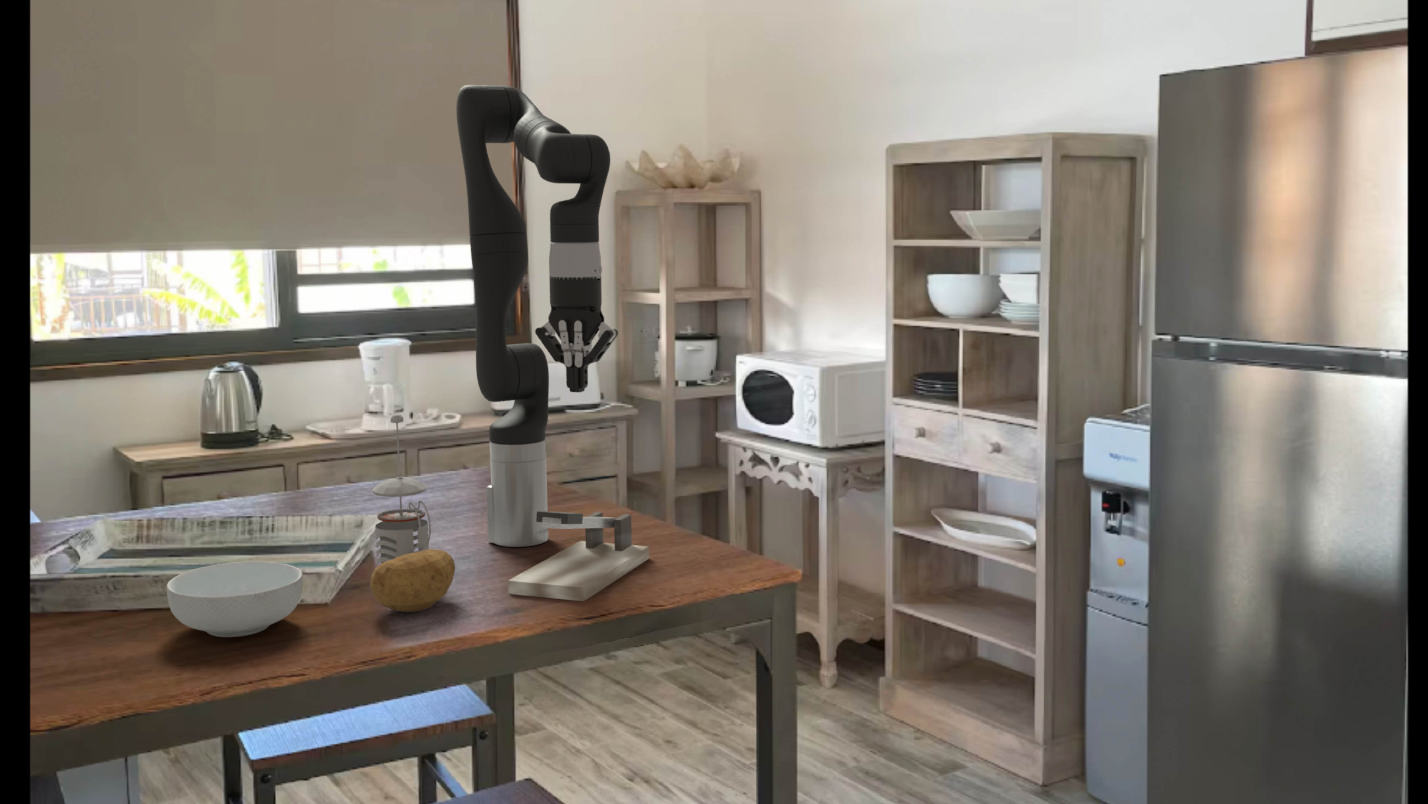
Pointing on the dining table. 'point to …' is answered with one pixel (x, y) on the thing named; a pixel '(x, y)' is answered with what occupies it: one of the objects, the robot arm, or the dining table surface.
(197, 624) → the cereal bowl
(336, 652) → the dining table surface
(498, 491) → the robot arm
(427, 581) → the potato
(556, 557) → the press base
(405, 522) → the french press
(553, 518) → the lever
